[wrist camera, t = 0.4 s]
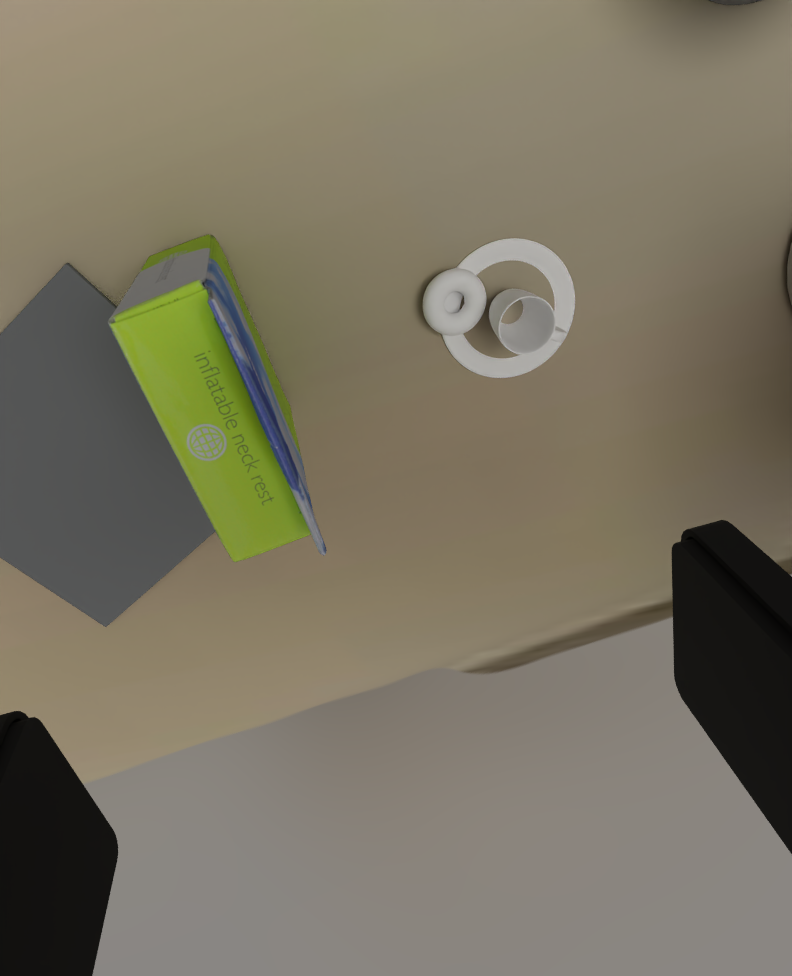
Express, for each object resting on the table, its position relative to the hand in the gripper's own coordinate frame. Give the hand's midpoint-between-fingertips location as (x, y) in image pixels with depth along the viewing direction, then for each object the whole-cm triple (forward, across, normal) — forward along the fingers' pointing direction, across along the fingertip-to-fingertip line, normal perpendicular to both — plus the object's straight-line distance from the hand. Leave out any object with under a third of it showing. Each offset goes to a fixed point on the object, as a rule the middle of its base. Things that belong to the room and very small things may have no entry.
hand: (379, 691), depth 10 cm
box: (+31, +5, +2) cm, 32 cm away
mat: (+32, +15, +8) cm, 36 cm away
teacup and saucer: (+32, -11, +1) cm, 33 cm away
